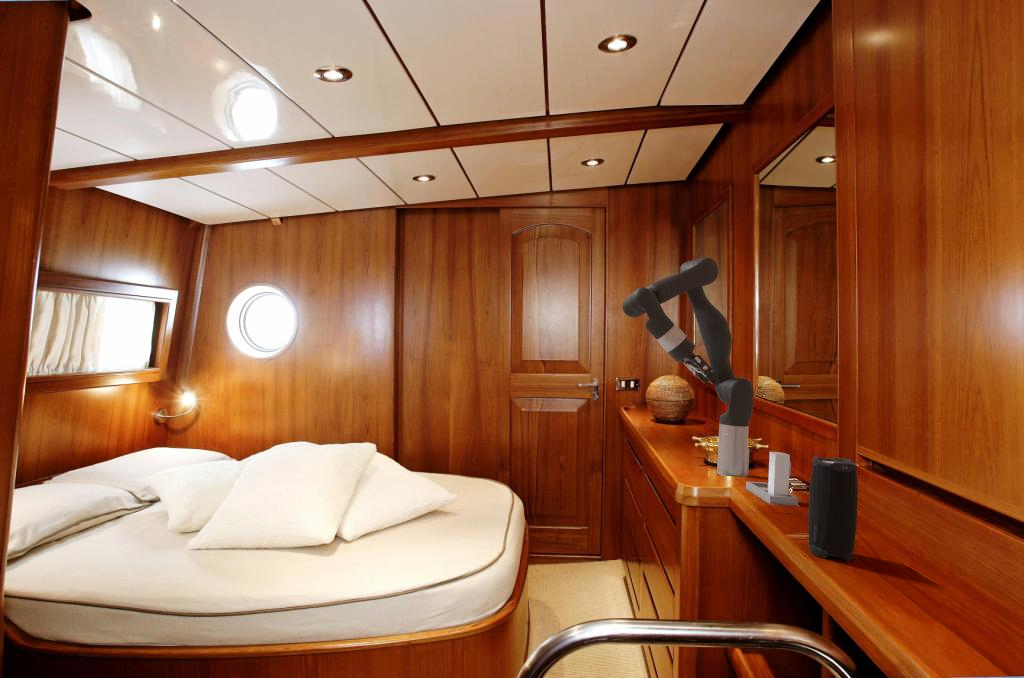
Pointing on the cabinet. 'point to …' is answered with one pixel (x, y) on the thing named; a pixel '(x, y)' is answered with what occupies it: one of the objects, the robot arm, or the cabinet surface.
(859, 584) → the cabinet surface
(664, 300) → the robot arm
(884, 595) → the cabinet surface
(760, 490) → the panel
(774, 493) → the plug
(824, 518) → the portable speaker
